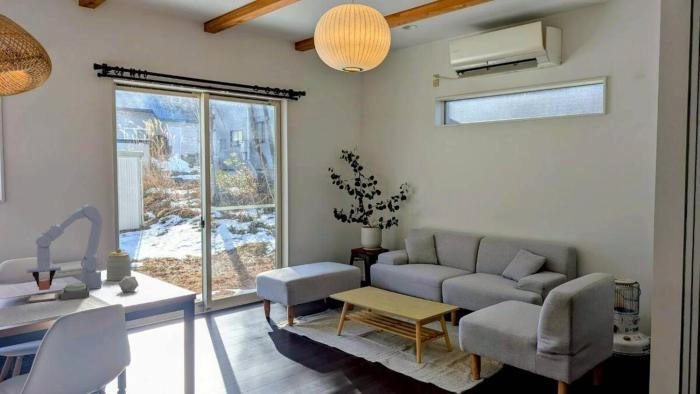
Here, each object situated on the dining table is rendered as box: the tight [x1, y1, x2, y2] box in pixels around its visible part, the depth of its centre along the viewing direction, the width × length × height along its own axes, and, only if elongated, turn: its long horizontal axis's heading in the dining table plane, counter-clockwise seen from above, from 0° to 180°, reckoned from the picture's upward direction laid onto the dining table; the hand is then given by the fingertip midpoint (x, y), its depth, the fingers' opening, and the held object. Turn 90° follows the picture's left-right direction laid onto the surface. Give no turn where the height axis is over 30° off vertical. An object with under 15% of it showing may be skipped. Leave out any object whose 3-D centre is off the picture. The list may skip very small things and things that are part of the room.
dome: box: [64, 282, 86, 293], centre depth 240 cm, size 9×9×3 cm
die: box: [118, 275, 139, 293], centre depth 249 cm, size 8×9×10 cm
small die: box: [38, 278, 51, 291], centre depth 243 cm, size 4×4×5 cm
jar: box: [106, 248, 132, 282], centre depth 278 cm, size 13×13×18 cm
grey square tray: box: [60, 286, 90, 300], centre depth 241 cm, size 12×12×3 cm
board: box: [26, 292, 59, 304], centre depth 234 cm, size 12×12×1 cm
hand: (44, 286), depth 244 cm, fingers closed on small die, 4 cm apart
